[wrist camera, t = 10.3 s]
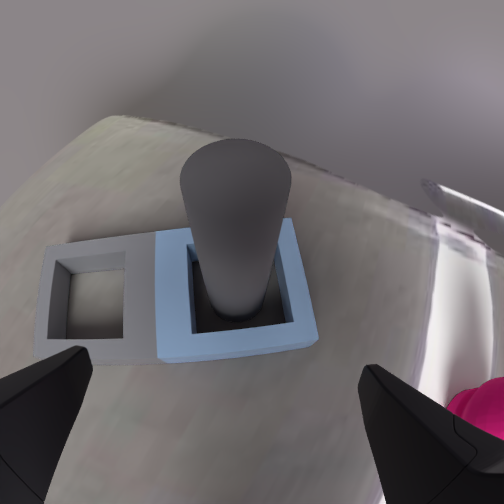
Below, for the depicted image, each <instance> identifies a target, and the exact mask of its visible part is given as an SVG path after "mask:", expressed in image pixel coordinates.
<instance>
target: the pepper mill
mask: <svg viewBox="0 0 504 504" xmlns="http://www.w3.org/2000/svg"><path fill="white" fill-rule="evenodd" d="M447 410H449V411H451V412H452V413H453V414H456V415H457V416H459V417H460V418H462V419H464V420H465V421H467V422H469V423H470V424H472V425H474V426H476V427H478V428H480V429H482V430H484V431H486V432H488V433H490V434H492V435H494V436H496V437H498V438H500V439H502V440H504V377H500V378H494V379H491V380H489V381H487V382H485V383H484V384H482V385H481V386H480V387H479V388H474V389H469V390H465V391H462V392H460V393H459V394H457V395H456V396H455V397H454V398H453V399H452V401H451V402H450V404H449V405H448V407H447Z"/></svg>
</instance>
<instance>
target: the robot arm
mask: <svg viewBox="0 0 504 504" xmlns="http://www.w3.org/2000/svg"><path fill="white" fill-rule="evenodd" d="M92 372H93V366H92V363H91V359H90V356H89V352H88V349H87V348H86V347H83V346H79V345H75V346H72V347H70V348H68V349H66V350H64V351H61V352H59V353H57V354H55V355H53V356H50V357H48V358H46V359H44V360H41V361H39V362H37V363H35V364H33V365H30V366H28V367H26V368H24V369H21V370H19V371H17V372H15V373H12V374H10V375H8V376H6V377H3V378H1V379H0V504H44V502H43V501H45V498H46V495H47V492H48V489H49V486H50V483H51V480H52V477H53V475H54V472H55V469H56V467H57V464H58V461H59V459H60V456H61V454H62V451H63V448H64V446H65V443H66V441H67V439H68V436H69V434H70V431H71V429H72V427H73V424H74V422H75V420H76V417H77V415H78V413H79V410H80V408H81V405H82V402H83V399H84V396H85V393H86V390H87V387H88V384H89V381H90V378H91V375H92ZM358 393H359V399H360V404H361V409H362V415H363V420H364V425H365V430H366V433H367V437H368V440H369V443H370V447H371V450H372V453H373V457H374V460H375V464H376V467H377V471H378V474H379V478H380V482H381V485H382V489H383V493H384V497H385V500H386V504H504V440H502V439H500V438H498V437H496V436H494V435H492V434H490V433H488V432H486V431H484V430H482V429H480V428H478V427H476V426H474V425H472V424H470V423H469V422H467V421H465V420H464V419H462V418H460V417H459V416H457V415H456V414H453V413H452V412H451V411H449V410H447V409H446V408H444V407H443V406H441V405H440V404H438V403H436V402H435V401H433V400H432V399H430V398H429V397H427V396H425V395H424V394H422V393H421V392H419V391H418V390H416V389H415V388H413V387H411V386H410V385H408V384H407V383H405V382H404V381H402V380H401V379H399V378H398V377H396V376H394V375H393V374H391V373H390V372H388V371H387V370H385V369H384V368H382V367H381V366H379V365H378V364H371V365H366V366H365V367H364V368H363V371H362V374H361V377H360V380H359V383H358Z"/></svg>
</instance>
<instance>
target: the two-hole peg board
mask: <svg viewBox="0 0 504 504" xmlns="http://www.w3.org/2000/svg"><path fill="white" fill-rule="evenodd" d="M194 261H199V260H198V256H197V253H196V249H195V245H194V241H193V237H192V233H191V229H190V228H181V229H172V230H164V231H155V232H147V233H139V234H131V235H123V236H116V237H108V238H101V239H93V240H86V241H79V242H72V243H66V244H59V245H52V246H46V249H45V254H44V260H43V265H42V271H41V277H40V283H39V290H38V298H37V307H36V317H35V329H34V348H33V357H35V358H38V359H41V360H44V359H46V358H48V357H50V356H53V355H55V354H57V353H59V352H61V351H64V350H66V349H68V348H70V347H72V346H75V345H79V346H83V347H86V348H87V349H88V352H89V356H90V359H91V363H92V365H144V364H167V363H184V362H197V361H209V360H219V359H229V358H237V357H246V356H254V355H261V354H268V353H275V352H281V351H288V350H294V349H300V348H305V347H310V346H311V345H312V344H314V343H315V342H316V341H317V340H318V339H319V336H318V332H317V327H316V322H315V317H314V313H313V308H312V303H311V299H310V294H309V290H308V285H307V281H306V277H305V272H304V268H303V264H302V260H301V255H300V251H299V247H298V243H297V239H296V235H295V231H294V227H293V223H292V219H291V218H283V222H282V226H281V231H280V235H279V239H278V243H277V248H276V252H275V256H274V262H275V268H276V273H277V278H278V283H279V289H280V294H281V299H282V305H283V310H284V315H285V321H286V323H283V324H276V325H269V326H262V327H254V328H246V329H238V330H229V331H219V332H210V333H199V334H197V328H196V316H195V303H194V289H193V273H192V262H194ZM117 269H125V271H124V296H123V338H122V339H66V324H67V309H68V297H69V287H70V278H71V274H77V273H87V272H97V271H107V270H117Z"/></svg>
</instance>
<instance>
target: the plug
mask: <svg viewBox="0 0 504 504" xmlns="http://www.w3.org/2000/svg"><path fill="white" fill-rule="evenodd" d="M180 186H181V191H182V195H183V200H184V204H185V208H186V212H187V217H188V221H189V225H190V229H191V233H192V237H193V241H194V245H195V249H196V253H197V256H198V260H199V264H200V268H201V272H202V275H203V279H204V283H205V286H206V290H207V294H208V297H209V301H210V304H211V307H212V309H213V310H214V312H215V313H216V314H217V315H218V316H219V317H220V318H222V319H224V320H226V321H229V322H244V321H247V320H250V319H251V318H253V317H254V316H255V315H256V314H257V313H258V312H259V311H260V309H261V307H262V305H263V301H264V297H265V293H266V289H267V285H268V281H269V277H270V273H271V269H272V264H273V260H274V256H275V252H276V248H277V243H278V239H279V235H280V231H281V226H282V222H283V218H284V213H285V209H286V204H287V200H288V196H289V191H290V187H291V172H290V169H289V167H288V165H287V163H286V161H285V160H284V159H283V157H282V156H281V155H280V154H279V153H277V152H276V151H275V150H273V149H272V148H270V147H268V146H266V145H264V144H261V143H259V142H256V141H252V140H246V139H226V140H220V141H216V142H213V143H210V144H208V145H206V146H204V147H202V148H200V149H199V150H197V151H196V152H195V153H193V154H192V155H191V156H190V157H189V158H188V160H187V161H186V162H185V164H184V166H183V168H182V171H181V174H180Z"/></svg>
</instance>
